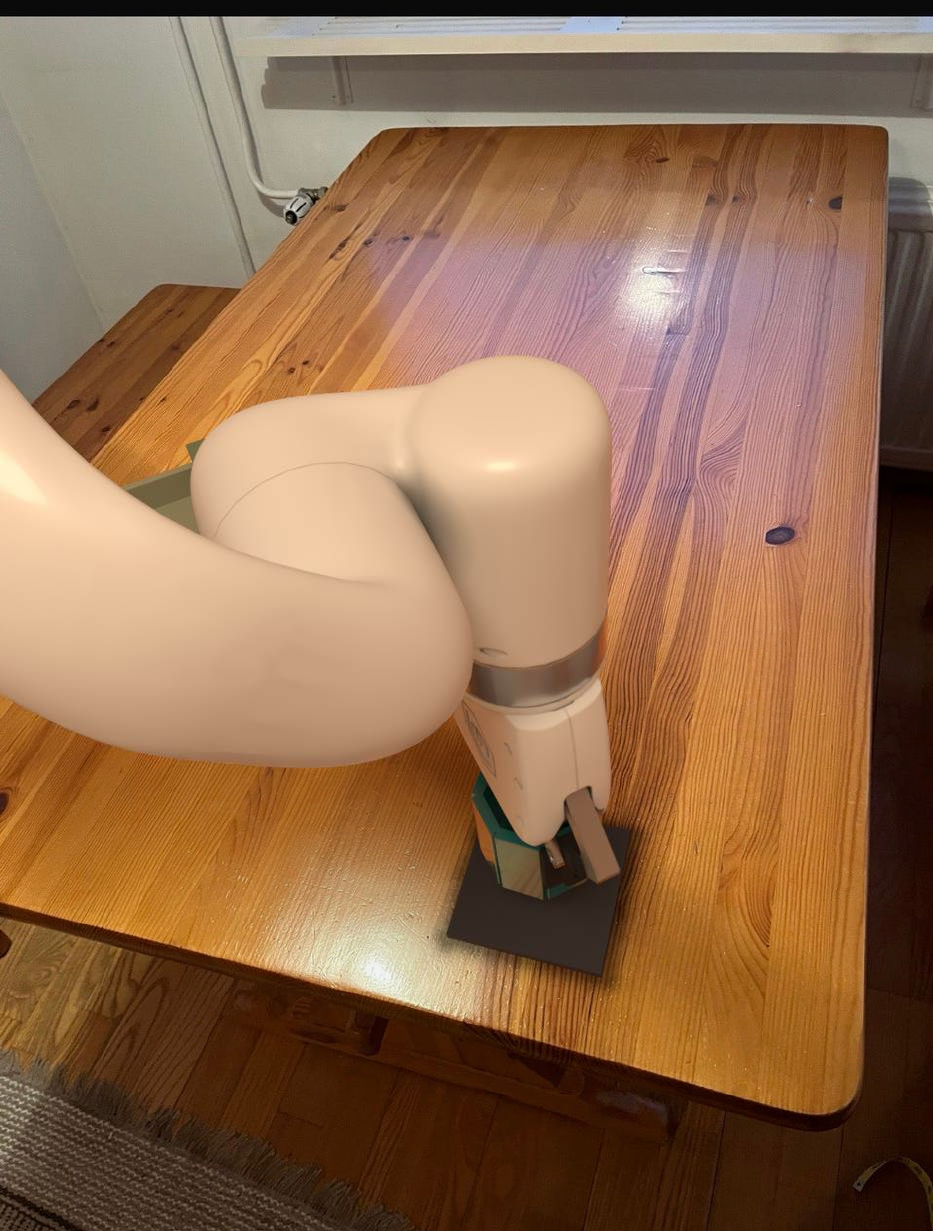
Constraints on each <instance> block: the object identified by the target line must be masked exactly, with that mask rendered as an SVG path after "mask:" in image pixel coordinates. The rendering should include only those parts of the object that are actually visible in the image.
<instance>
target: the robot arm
mask: <svg viewBox="0 0 933 1231" xmlns="http://www.w3.org/2000/svg"><path fill="white" fill-rule="evenodd" d="M612 431H613V430H612V422H611V419H610V414H609V411H608V409H607V406H606V405H605V403H604V401H603V398H602V396H601V394H600V393H599V392H598V390H597V389H596V388H595V387H594V385H593V384H591V382H590V381H589V380H588V379H587V378H585V377H584V376H583V375H581V374H580V373H579V372H578V371H576V370H575V369H572V368H570V367H569V366H567V365H566V364H562V363H559V362H557V361H554V360H551V359H549V358H545V357H539V356H533V355H525V354H502V355H493V356H486V357H482V358H478V359H474V360H472V361H468V362H465V363H462V364H459V365H458V366H456V367H454V368H452V369H450V370H448V371H446V372H444V373H443V374H441V375H439V376H438V377H437V378H435V379H434V380H431V381H430V382H426V383H419V384H410V385H403V386H397V387H386V388H385V387H384V388H376V389H365V390H363V389H362V390H354V391H343V392H341V391H339V392H327V393H326V392H325V393H314V394H304V395H296V396H288V397H283V398H279V399H272V400H269V401H268V400H267V401H264V402H261V403H258V404H255V405H253V406H249V407H247V408H244V409H242V410H240V411H237V412H236V413H233V414H232V415H230V416H228V417H227V418H225V419H224V420H222V421H221V422H220V423H219V424H218V425H216V426H215V427H214V428H213V429H212V430H211V431H209V433H208V434H207V435H206V437H204V438H205V440H204V441H203V442H202V444H201V446H200V447H199V449H198V451H197V454H196V456H195V458H194V462H193V465H192V470H191V477H190V490H191V498H192V505H193V510H194V514H195V518H196V521H197V525H198V528H199V532H200V535H199V534H197V533H195V532H193V531H191V530H189V529H187V528H185V527H184V526H182V525H180V524H178V523H176V522H174V521H172V520H171V519H169V518H167V517H165V516H163V515H161V514H160V513H158V512H157V511H155V510H154V509H152V508H151V507H149V506H148V505H146V504H145V503H143V502H141V501H140V500H138V499H137V498H135V497H134V496H132V495H131V494H129V493H128V492H126V491H125V490H123V489H122V488H121V486H119V485H118V484H117V483H116V482H115V481H113V480H112V479H111V478H109V477H108V476H106V474H104V473H103V472H102V471H100V470H99V469H98V468H96V467H95V466H94V465H92V464H91V463H90V462H89V461H87V459H86V458H85V457H84V456H82V455H81V454H80V453H79V452H78V451H77V450H75V448H73V446H72V445H70V444H69V442H67V441H66V440H65V439H64V438H63V437H62V436H60V435H59V433H58V432H57V431H56V430H55V429H54V428H53V427H52V426H51V425H50V424H49V422H47V420H45V419H44V417H42V415H41V414H40V413H39V412H38V411H37V410H36V409H35V408H34V407H33V406H32V405H31V403H30V402H29V401H28V400H27V398H26V397H25V396H24V394H22V393H21V391H20V390H19V389H18V388H17V387H16V385H15V384H14V382H12V380H11V379H10V378H9V377H8V376H7V374H6V373H5V372H4V371H3V370H2V368H1V367H0V695H1V696H3V697H5V698H6V699H8V700H10V701H12V702H13V703H15V704H17V705H18V706H20V707H22V708H24V709H26V710H28V711H29V712H30V713H31V712H32V714H35V715H37V716H40V717H41V718H42V719H45V720H47V721H49V722H51V723H53V724H55V725H57V726H59V727H61V728H63V729H66V730H68V731H70V732H73V733H75V734H78V735H81V736H84V737H86V738H88V739H89V738H90V739H92V740H93V741H96V742H98V743H102V744H105V745H108V746H112V747H116V748H118V749H123V750H126V751H129V752H134V753H138V754H143V755H148V756H149V755H150V756H154V757H160V758H165V759H175V760H183V761H192V762H203V763H213V764H225V765H226V764H228V765H236V766H237V765H238V766H247V767H248V766H250V767H263V768H264V767H266V768H267V767H269V768H282V769H325V768H326V769H327V768H338V767H348V766H349V767H350V766H353V765H360V764H364V763H370V762H375V761H378V760H382V759H385V758H388V757H391V756H394V755H397V754H399V753H401V752H404V751H405V750H407V749H409V748H412V747H414V746H416V745H418V744H419V743H421V742H422V741H424V740H425V739H427V738H428V737H430V736H432V734H434V733H435V732H436V731H438V729H439V728H440V727H442V726H443V725H444V724H445V722H446V721H448V720H449V719H450V718H451V717H452V715H453V717H454V721H455V722H456V724H457V727H458V729H459V731H460V734H461V735H462V737H463V739H464V741H465V743H466V745H467V747H468V749H469V751H470V752H471V754H472V757H473V758H474V760H475V762H476V764H477V766H478V767H479V769H481V771H482V773H483V775H484V777H485V779H486V780H487V782H488V784H489V786H490V788H491V790H492V791H493V793H494V795H495V797H496V799H497V800H498V802H499V804H500V806H501V808H502V809H503V811H504V813H505V815H506V817H507V818H508V820H509V822H510V824H511V825H512V827H513V829H514V830H515V832H516V833H517V835H518V836H519V837H520V839H521V840H522V841H524V842H525V843H527V844H529V845H531V846H537V845H540V844H543V843H544V844H545V846H543V847H542V848H541V849H540V861H541V873H542V881H543V883H544V885H545V886H546V888H547V889H551V888H553V887H555V886H557V885H559V884H562V883H564V884H565V886H572V885H575V884H577V883H579V882H581V881H583V880H584V879H586V878H587V877H588V878H589V879H591V880H592V881H594V882H595V883H597V884H599V883H601V882H603V881H605V880H607V879H609V878H611V877H613V876H615V875H617V874H619V873H620V868H619V865H618V863H617V860H616V858H615V855H614V853H613V850H612V848H611V845H610V843H609V841H608V838H607V836H606V833H605V831H604V828H603V826H602V824H603V822H602V823H601V821H600V818H599V816H598V814H597V812H599V813H600V814H601V815H602V814H605V812H606V810H607V808H608V806H609V802H610V798H611V797H610V796H611V791H612V790H611V788H612V761H611V760H612V759H611V745H610V743H611V742H610V734H609V726H608V717H607V709H606V702H605V698H604V690H603V686H602V681H601V678H600V676H601V673H602V671H603V669H604V665H605V663H606V660H607V652H608V618H609V616H608V614H609V589H610V588H609V587H610V585H609V584H610V583H609V582H610V548H611V547H610V546H611V545H610V544H611V509H612V503H611V502H612V477H613V476H612V475H613V474H612V473H613V472H612V470H613V433H612ZM602 816H603V815H602ZM567 822H569V824H570V827H571V829H572V831H570V832H568V833H566V834H564V835H562V836H560V837H558V836H557V832H558V830H559V828H560V826H561V825H563V824H565V823H567Z"/></svg>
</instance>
